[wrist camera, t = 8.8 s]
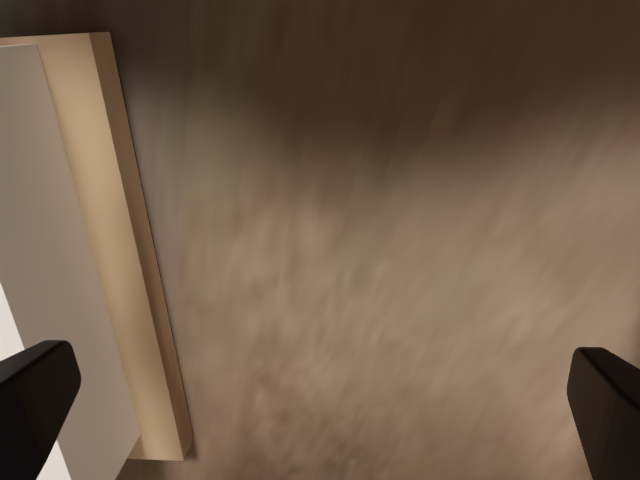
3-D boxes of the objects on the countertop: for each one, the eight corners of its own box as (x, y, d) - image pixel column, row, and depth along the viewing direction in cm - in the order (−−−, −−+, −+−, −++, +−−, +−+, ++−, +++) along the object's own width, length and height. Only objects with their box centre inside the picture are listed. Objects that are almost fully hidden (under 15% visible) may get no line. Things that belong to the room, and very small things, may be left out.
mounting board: (109, 31, 18) (21, 37, 14) (193, 438, 27) (155, 527, 22) (-134, 45, 19) (-292, 54, 15) (18, 432, 28) (-53, 516, 23)
